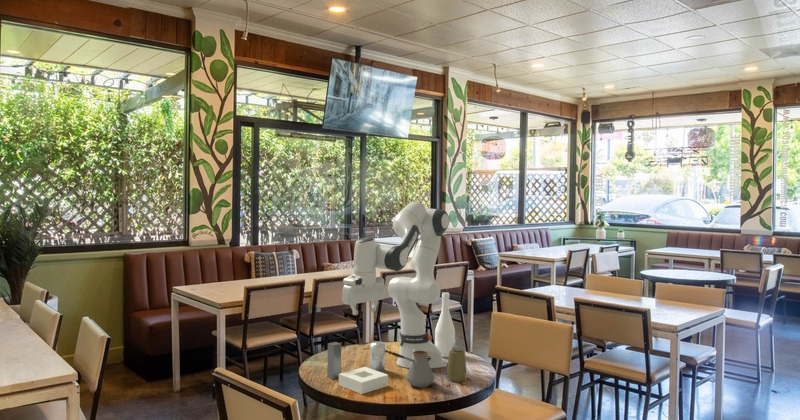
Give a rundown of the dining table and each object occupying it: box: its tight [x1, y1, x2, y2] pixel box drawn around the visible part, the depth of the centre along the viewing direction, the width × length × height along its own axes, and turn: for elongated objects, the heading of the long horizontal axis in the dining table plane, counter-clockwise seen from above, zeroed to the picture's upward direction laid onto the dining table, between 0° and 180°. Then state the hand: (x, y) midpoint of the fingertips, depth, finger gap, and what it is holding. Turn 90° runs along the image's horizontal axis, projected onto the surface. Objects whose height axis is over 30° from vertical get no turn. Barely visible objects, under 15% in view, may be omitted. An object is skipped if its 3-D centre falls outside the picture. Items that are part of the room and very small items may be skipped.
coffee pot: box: [383, 349, 435, 388], centre depth 226 cm, size 21×12×15 cm, turn 108°
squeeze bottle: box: [446, 336, 467, 383], centre depth 233 cm, size 8×8×18 cm
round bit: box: [369, 340, 386, 373], centre depth 244 cm, size 7×7×12 cm
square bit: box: [326, 341, 342, 380], centre depth 235 cm, size 4×4×14 cm
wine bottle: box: [434, 291, 456, 358], centre depth 269 cm, size 10×10×30 cm
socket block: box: [338, 366, 389, 395], centre depth 225 cm, size 14×14×4 cm
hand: (364, 313), depth 224 cm, fingers open, 8 cm apart
